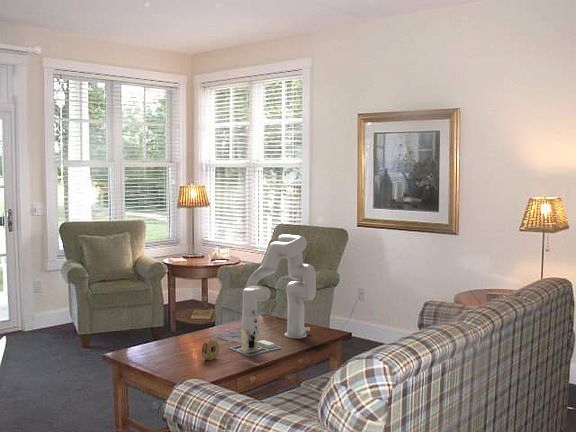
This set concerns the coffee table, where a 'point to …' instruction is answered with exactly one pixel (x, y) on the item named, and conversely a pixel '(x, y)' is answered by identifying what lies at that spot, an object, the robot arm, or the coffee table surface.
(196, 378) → the coffee table surface
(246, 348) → the birch board
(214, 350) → the tan rounded piece
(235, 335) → the picture frame
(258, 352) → the rack
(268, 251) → the robot arm
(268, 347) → the upper offcut
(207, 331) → the coffee table surface
